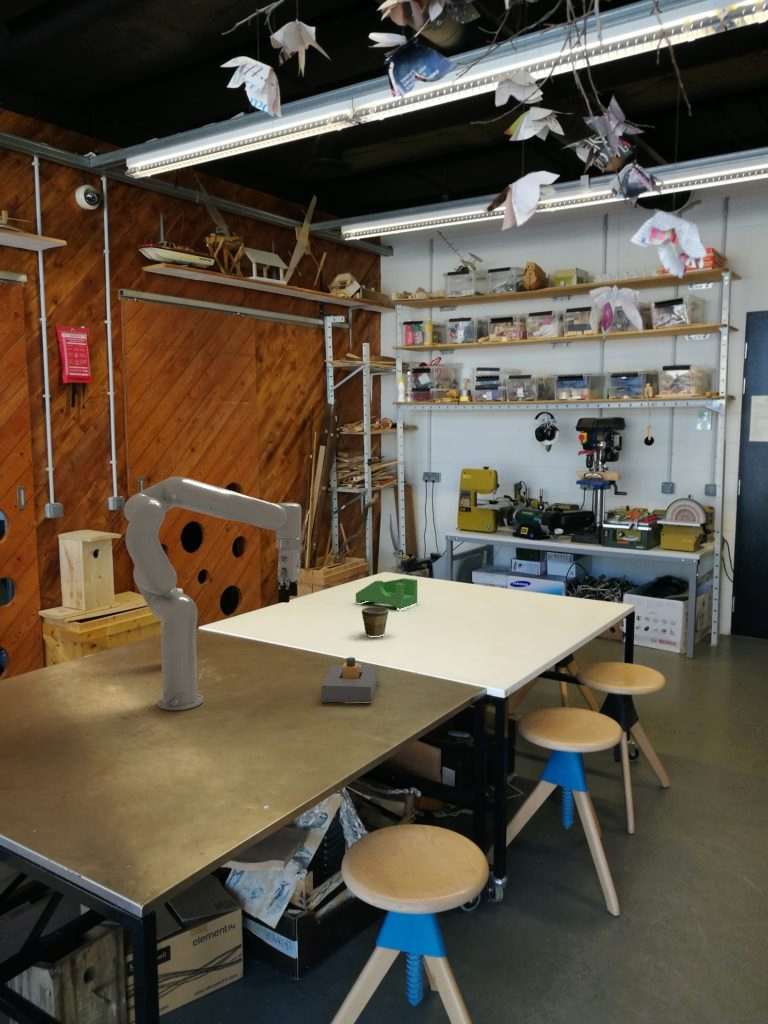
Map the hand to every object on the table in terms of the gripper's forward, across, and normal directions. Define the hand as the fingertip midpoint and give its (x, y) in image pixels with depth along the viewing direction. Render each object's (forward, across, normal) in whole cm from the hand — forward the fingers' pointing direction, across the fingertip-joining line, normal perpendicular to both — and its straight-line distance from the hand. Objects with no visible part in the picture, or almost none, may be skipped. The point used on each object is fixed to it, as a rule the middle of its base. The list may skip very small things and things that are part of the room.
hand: (288, 599), depth 234 cm
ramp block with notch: (+24, +107, -17) cm, 111 cm away
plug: (+24, -7, -21) cm, 33 cm away
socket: (+26, -7, -21) cm, 34 cm away
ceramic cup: (+25, +57, -19) cm, 65 cm away
